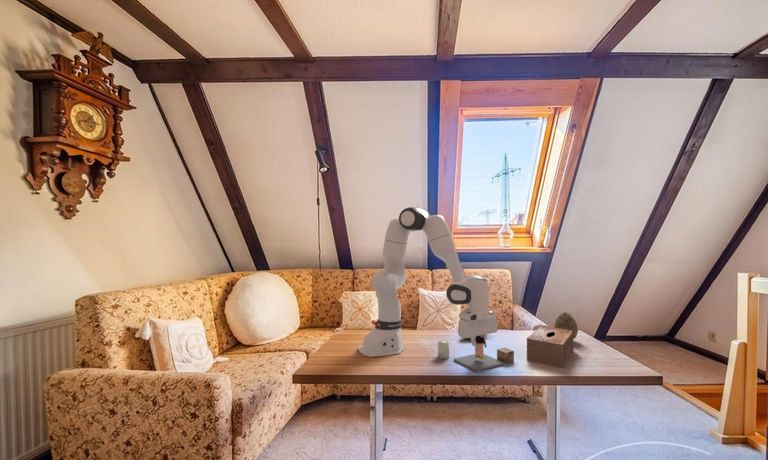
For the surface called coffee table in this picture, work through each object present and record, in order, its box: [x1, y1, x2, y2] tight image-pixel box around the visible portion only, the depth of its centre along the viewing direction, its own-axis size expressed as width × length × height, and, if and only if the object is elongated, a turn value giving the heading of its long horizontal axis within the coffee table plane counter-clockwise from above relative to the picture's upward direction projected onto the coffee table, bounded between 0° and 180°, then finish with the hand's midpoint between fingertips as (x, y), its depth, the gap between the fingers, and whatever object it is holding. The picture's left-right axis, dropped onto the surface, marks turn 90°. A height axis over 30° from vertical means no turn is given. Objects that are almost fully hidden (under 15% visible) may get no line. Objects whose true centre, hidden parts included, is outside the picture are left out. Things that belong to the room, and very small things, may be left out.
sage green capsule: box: [437, 339, 450, 360], centre depth 157 cm, size 5×5×7 cm
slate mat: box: [453, 353, 505, 373], centre depth 150 cm, size 16×14×1 cm
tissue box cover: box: [526, 325, 574, 369], centre depth 159 cm, size 26×14×10 cm, turn 142°
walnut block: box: [496, 347, 515, 365], centre depth 152 cm, size 5×5×5 cm
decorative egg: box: [553, 311, 579, 340], centre depth 180 cm, size 11×11×15 cm
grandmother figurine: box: [470, 335, 488, 359], centre depth 150 cm, size 8×4×13 cm, turn 56°
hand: (478, 345), depth 150 cm, fingers closed on grandmother figurine, 3 cm apart
